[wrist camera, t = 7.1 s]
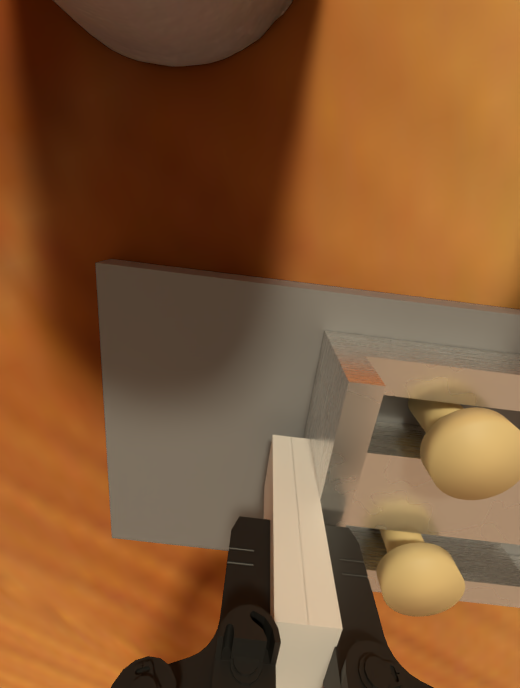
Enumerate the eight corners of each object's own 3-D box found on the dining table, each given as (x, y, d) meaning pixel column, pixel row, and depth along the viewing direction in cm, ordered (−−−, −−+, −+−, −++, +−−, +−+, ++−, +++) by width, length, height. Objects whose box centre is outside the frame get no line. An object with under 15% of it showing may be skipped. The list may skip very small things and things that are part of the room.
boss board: (121, 518, 18) (72, 619, 14) (110, 258, 13) (25, 281, 9) (619, 574, 19) (733, 690, 14) (792, 343, 14) (1055, 407, 9)
